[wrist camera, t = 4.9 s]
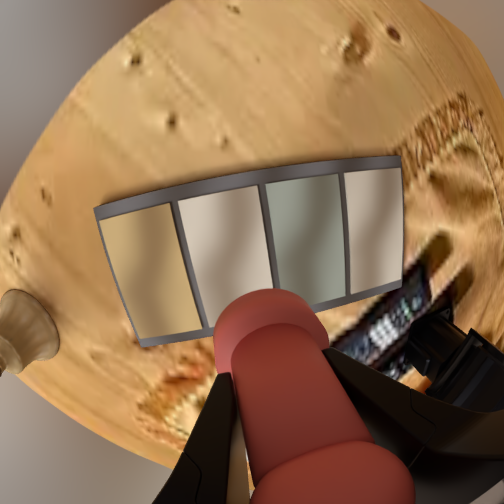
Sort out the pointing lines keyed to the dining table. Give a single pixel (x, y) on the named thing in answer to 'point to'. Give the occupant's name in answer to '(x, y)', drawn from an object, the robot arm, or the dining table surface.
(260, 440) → the pawn
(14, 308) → the hand bell
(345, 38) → the dining table surface
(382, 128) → the dining table surface
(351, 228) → the board
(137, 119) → the dining table surface
